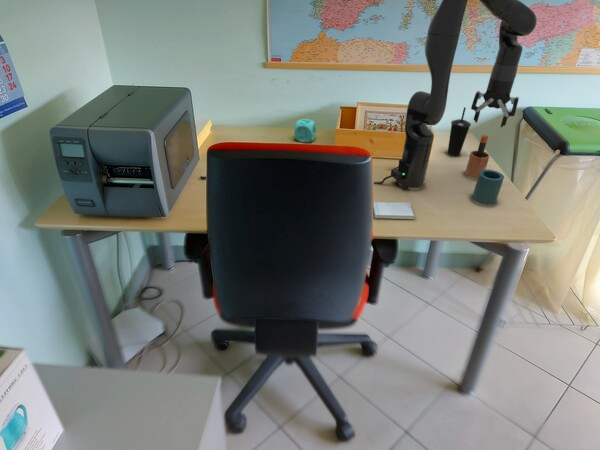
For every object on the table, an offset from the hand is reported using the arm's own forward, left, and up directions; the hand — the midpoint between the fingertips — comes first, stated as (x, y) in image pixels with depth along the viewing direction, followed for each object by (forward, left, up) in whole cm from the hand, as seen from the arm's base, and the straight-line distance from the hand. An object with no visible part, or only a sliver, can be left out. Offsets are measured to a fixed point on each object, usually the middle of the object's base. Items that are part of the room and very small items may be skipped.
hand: (488, 124), depth 144 cm
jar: (-10, -16, -21) cm, 28 cm away
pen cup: (0, 0, -21) cm, 21 cm away
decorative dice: (-47, +56, -21) cm, 76 cm away
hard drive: (-44, -11, -21) cm, 50 cm away
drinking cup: (+6, +19, -21) cm, 29 cm away
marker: (0, 0, -20) cm, 20 cm away
